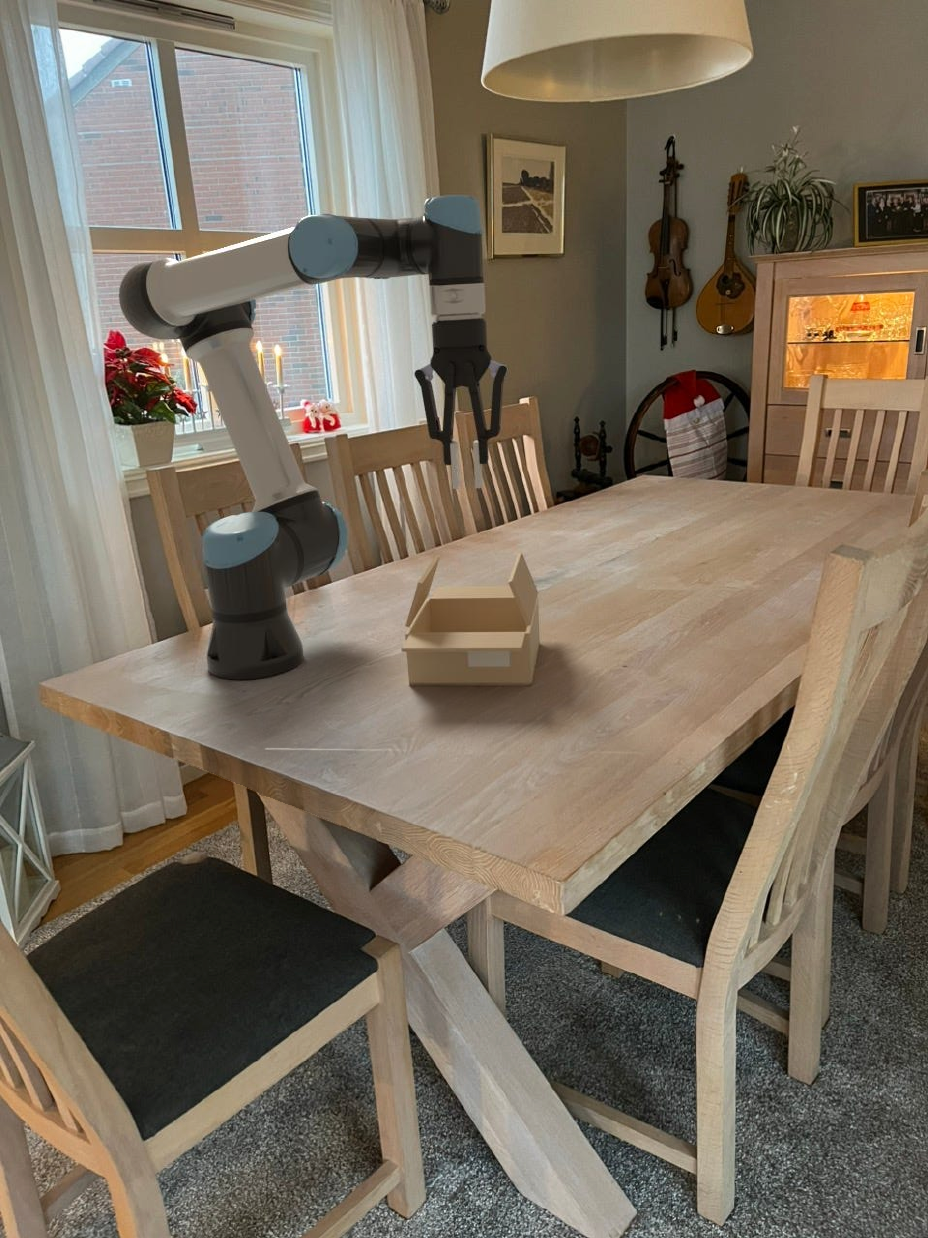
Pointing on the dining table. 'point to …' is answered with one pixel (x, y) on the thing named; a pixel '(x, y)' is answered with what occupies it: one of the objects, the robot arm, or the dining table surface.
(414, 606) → the flap
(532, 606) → the flap
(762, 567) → the dining table surface
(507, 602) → the carton
